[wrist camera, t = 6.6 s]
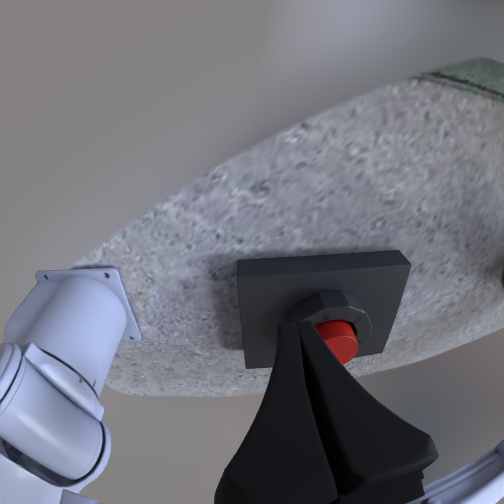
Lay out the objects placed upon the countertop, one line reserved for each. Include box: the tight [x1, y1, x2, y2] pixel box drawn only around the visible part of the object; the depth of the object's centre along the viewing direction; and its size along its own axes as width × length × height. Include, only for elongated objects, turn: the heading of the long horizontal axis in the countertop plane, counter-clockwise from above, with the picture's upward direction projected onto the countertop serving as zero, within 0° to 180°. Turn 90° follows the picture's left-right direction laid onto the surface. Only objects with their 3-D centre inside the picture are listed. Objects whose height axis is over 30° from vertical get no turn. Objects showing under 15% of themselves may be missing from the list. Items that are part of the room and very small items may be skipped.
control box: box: [237, 250, 411, 369], centre depth 21 cm, size 13×10×4 cm
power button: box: [315, 320, 358, 365], centre depth 19 cm, size 4×4×2 cm
